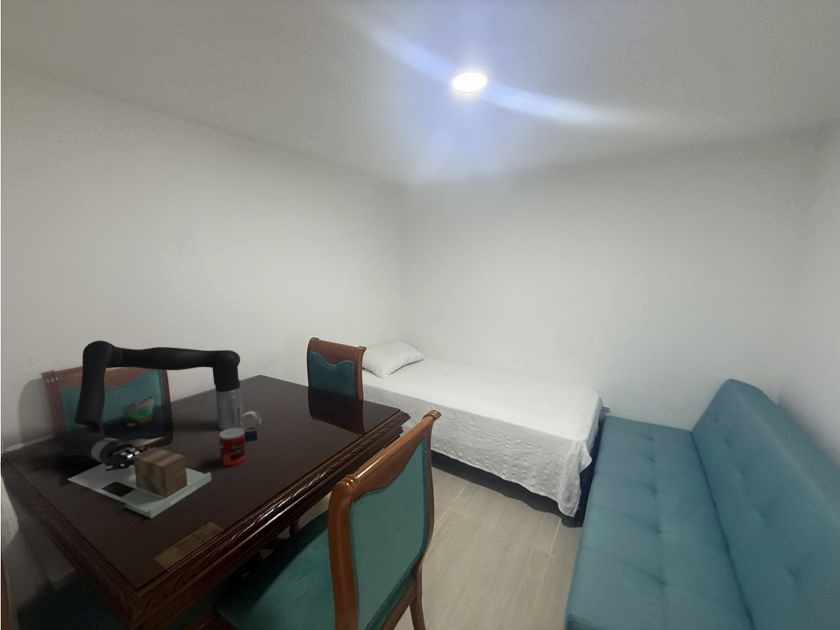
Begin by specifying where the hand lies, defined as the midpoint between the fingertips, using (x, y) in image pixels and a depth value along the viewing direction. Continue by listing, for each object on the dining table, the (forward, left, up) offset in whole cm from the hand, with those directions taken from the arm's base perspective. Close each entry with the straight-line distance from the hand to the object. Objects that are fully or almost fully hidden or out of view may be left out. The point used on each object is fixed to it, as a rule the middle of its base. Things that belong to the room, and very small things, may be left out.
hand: (146, 462), depth 105 cm
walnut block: (-5, +5, -6) cm, 9 cm away
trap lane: (+3, -3, -8) cm, 9 cm away
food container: (+19, -51, -8) cm, 55 cm away
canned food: (-23, -7, -8) cm, 25 cm away
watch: (-27, -23, -8) cm, 36 cm away
